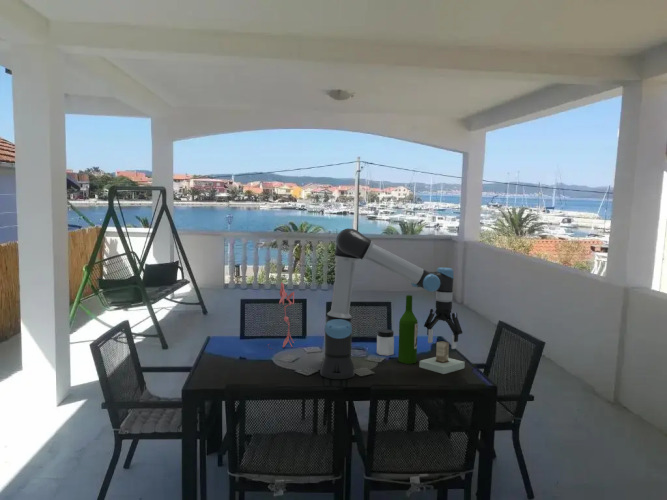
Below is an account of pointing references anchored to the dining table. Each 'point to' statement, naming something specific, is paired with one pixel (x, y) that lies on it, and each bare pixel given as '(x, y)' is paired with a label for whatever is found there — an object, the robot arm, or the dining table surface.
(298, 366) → the dining table surface
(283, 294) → the figurine
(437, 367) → the plinth
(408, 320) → the wine bottle
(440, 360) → the peg
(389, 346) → the jar
